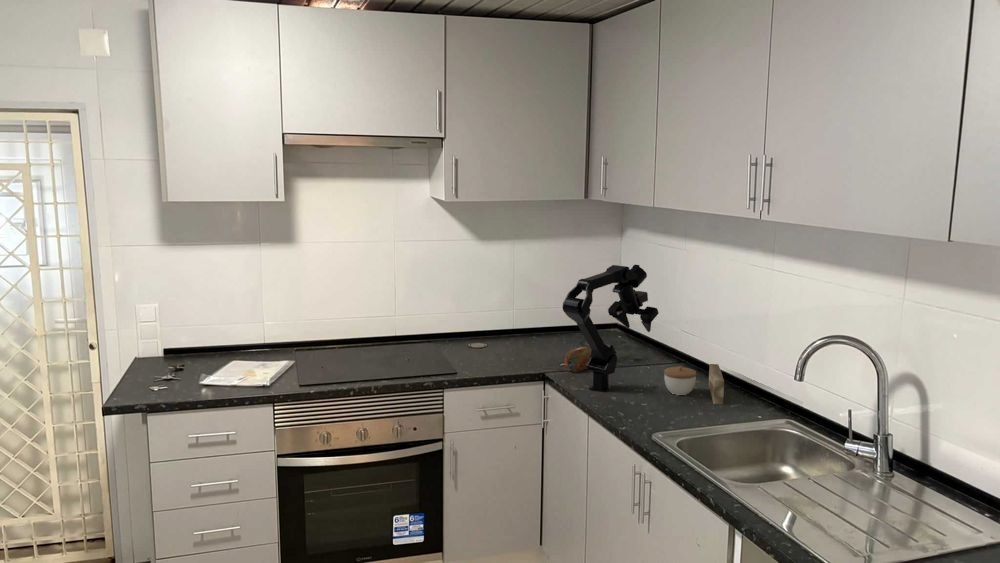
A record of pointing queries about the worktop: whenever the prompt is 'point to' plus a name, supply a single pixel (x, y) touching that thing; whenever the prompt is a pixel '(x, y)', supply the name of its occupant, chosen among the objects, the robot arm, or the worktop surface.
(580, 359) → the tin
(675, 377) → the lidded jar
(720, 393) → the birch board
